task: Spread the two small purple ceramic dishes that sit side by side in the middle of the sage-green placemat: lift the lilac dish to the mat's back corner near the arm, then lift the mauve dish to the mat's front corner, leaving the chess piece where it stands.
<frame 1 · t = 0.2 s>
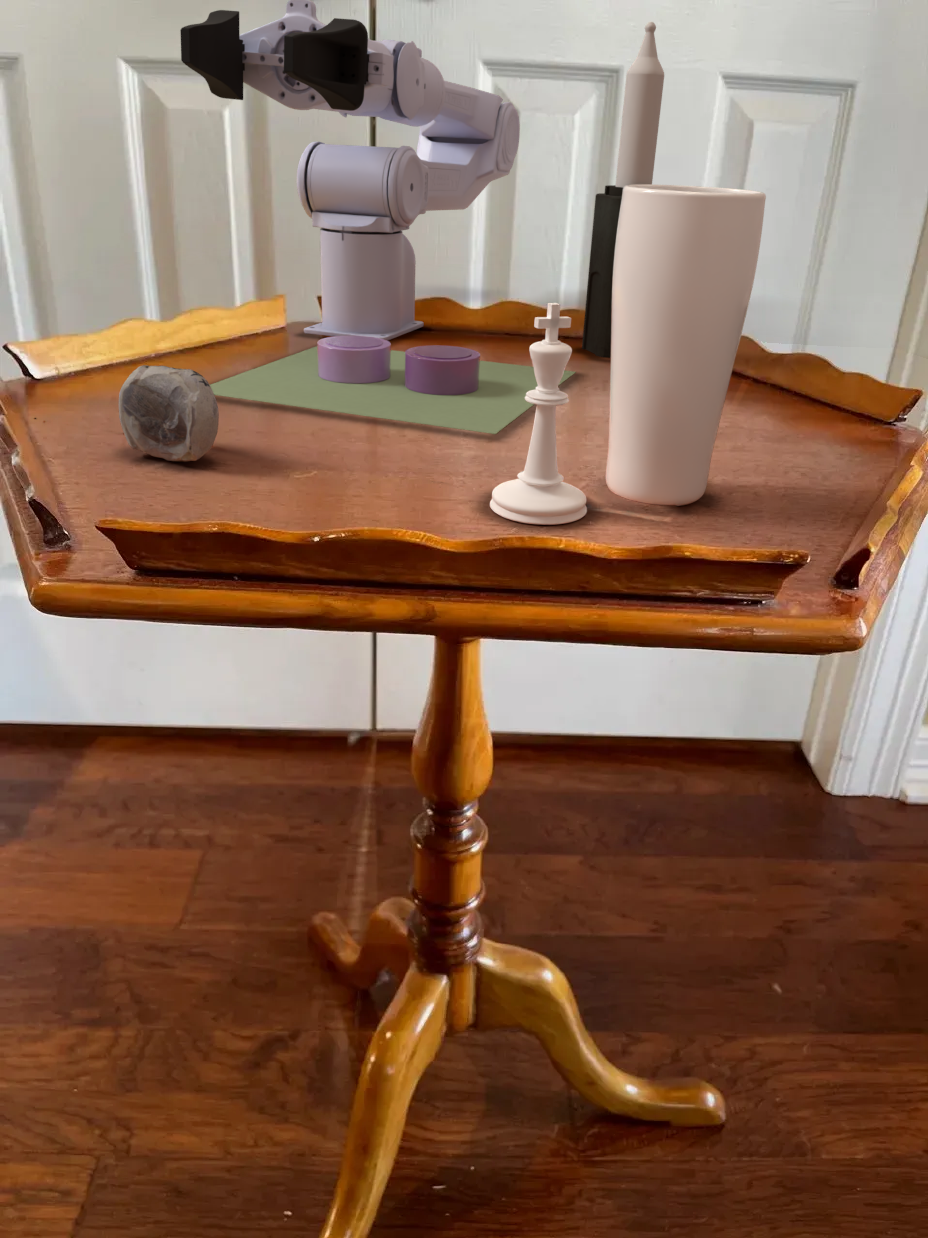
hand: (236, 49, 65), 21 cm above the table, tool horizontal, fingers open, 7 cm apart
chess piece: (537, 511, 50), on the table
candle: (615, 356, 87), on the table
drinking glass: (653, 496, 53), on the table
lilac dish: (354, 375, 74), resting on placemat
fossil: (174, 459, 56), on the table
placemat: (397, 384, 73), on the table
mauve dish: (441, 386, 72), resting on placemat
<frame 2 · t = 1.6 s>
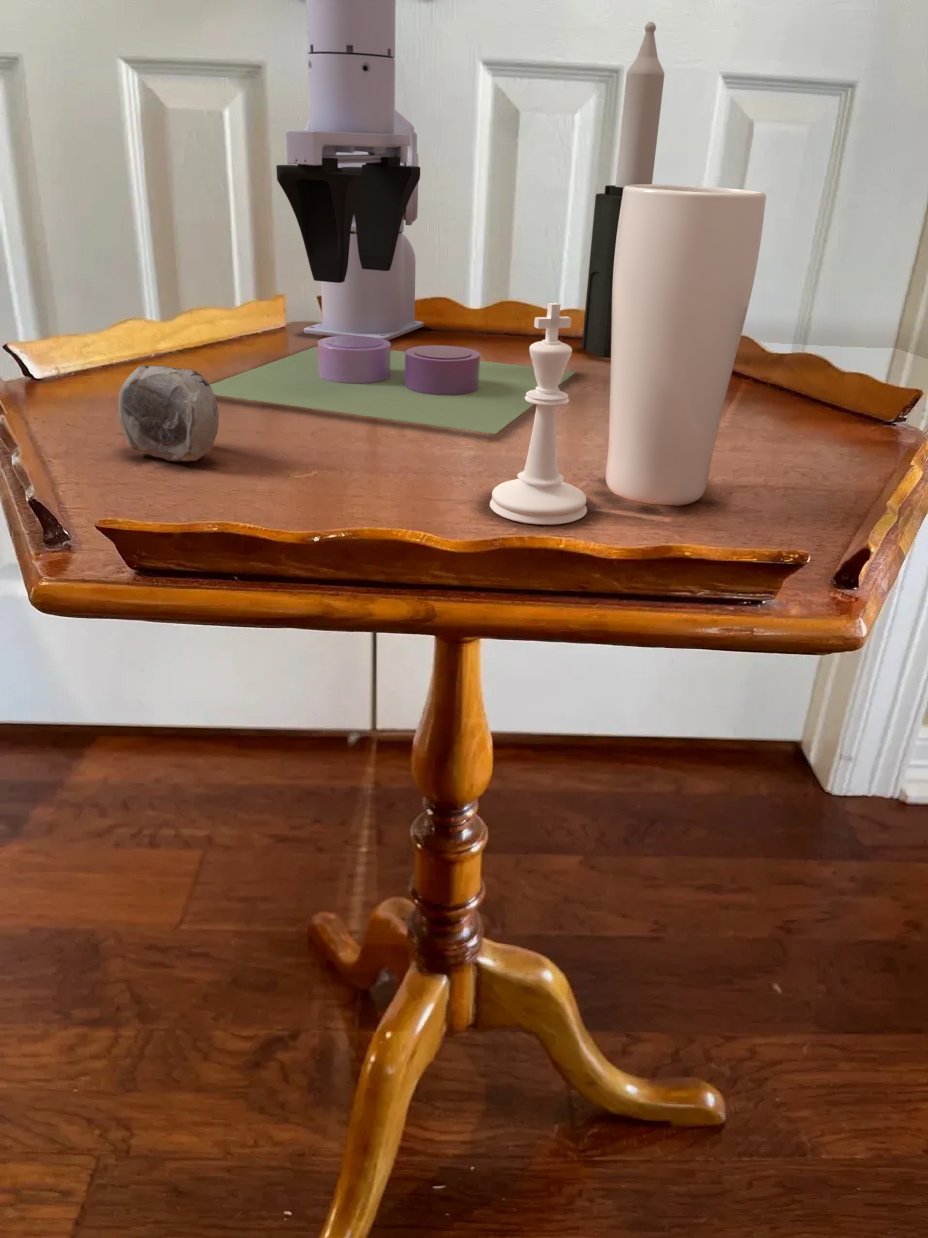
hand: (353, 275, 71), 7 cm above the table, tool pointing down, fingers open, 7 cm apart
nothing on the table moved.
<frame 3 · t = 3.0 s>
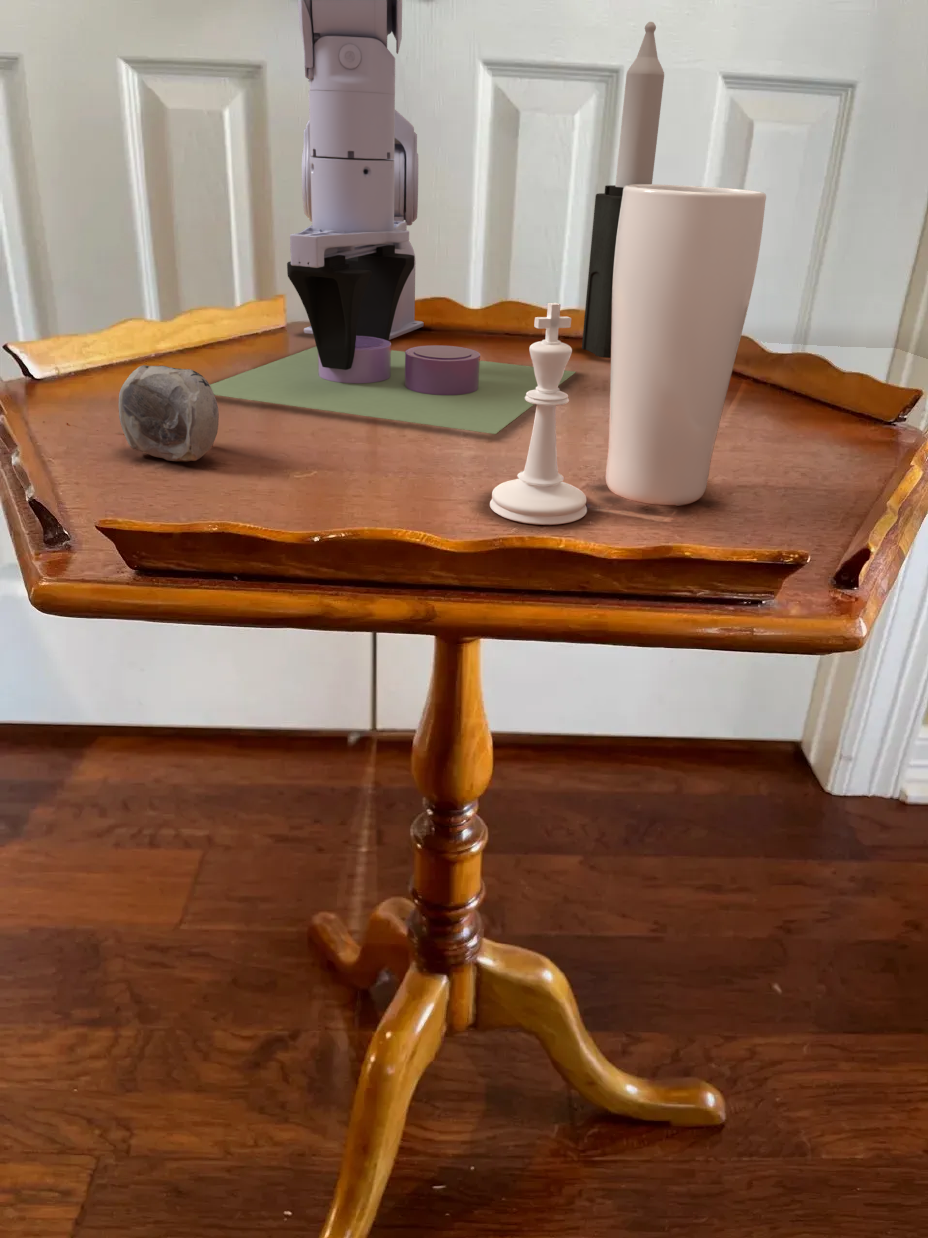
hand: (354, 360, 73), 1 cm above the table, tool pointing down, fingers closed on lilac dish, 5 cm apart
lilac dish: (354, 375, 74), resting on placemat, touching gripper
everything else where it was.
when the fingers open (1 cm above the table, at t = 7.1 s): lilac dish stays where it is, resting on placemat.
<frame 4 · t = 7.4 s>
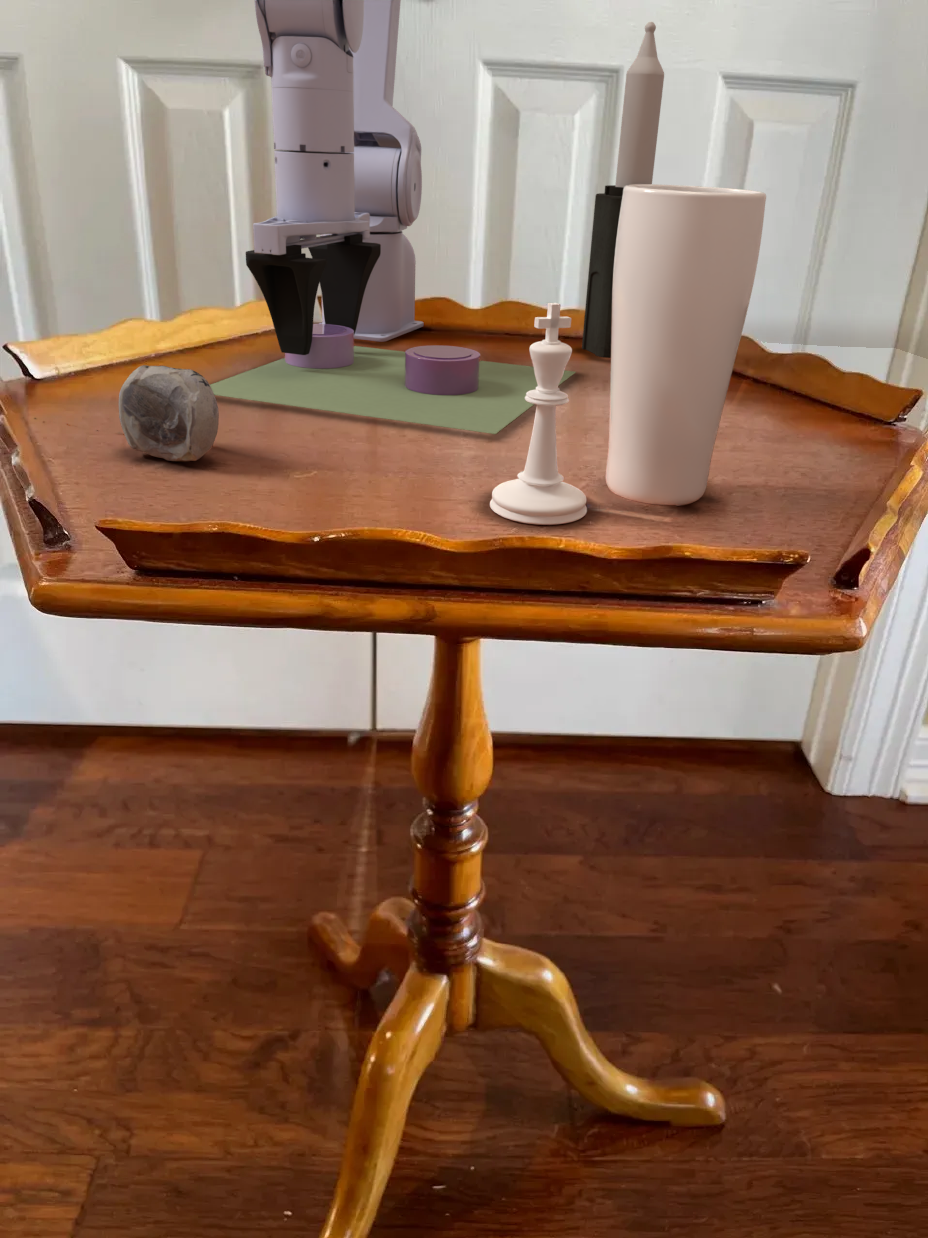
hand: (319, 344, 77), 2 cm above the table, tool pointing down, fingers open, 7 cm apart
lilac dish: (319, 361, 78), resting on placemat
everything else where it was.
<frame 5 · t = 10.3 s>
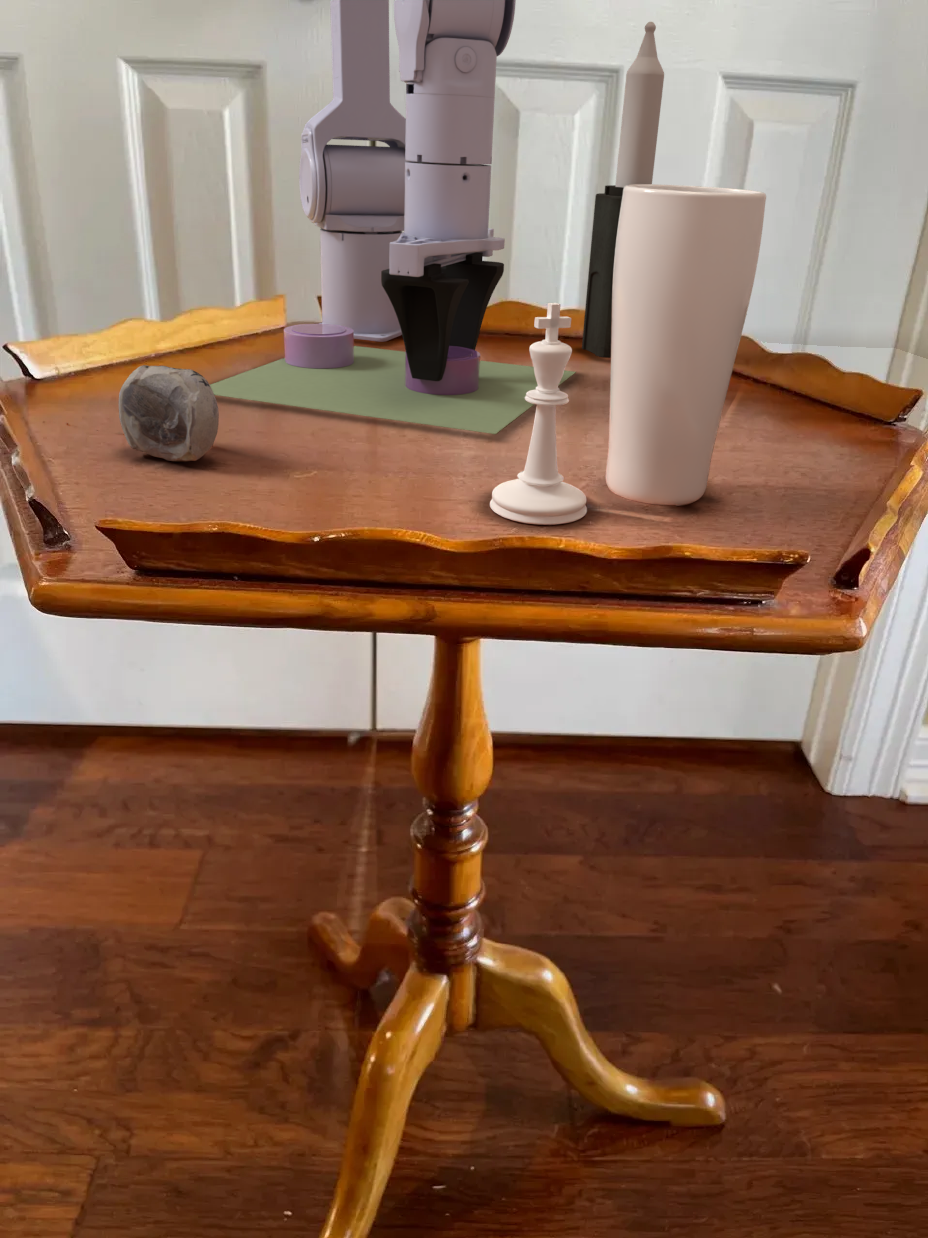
hand: (442, 370, 71), 1 cm above the table, tool pointing down, fingers closed on mauve dish, 5 cm apart
mauve dish: (441, 386, 72), resting on placemat, touching gripper
everything else where it was.
when the fingers open (1 cm above the table, at t = 14.4 s): mauve dish stays where it is, resting on placemat.
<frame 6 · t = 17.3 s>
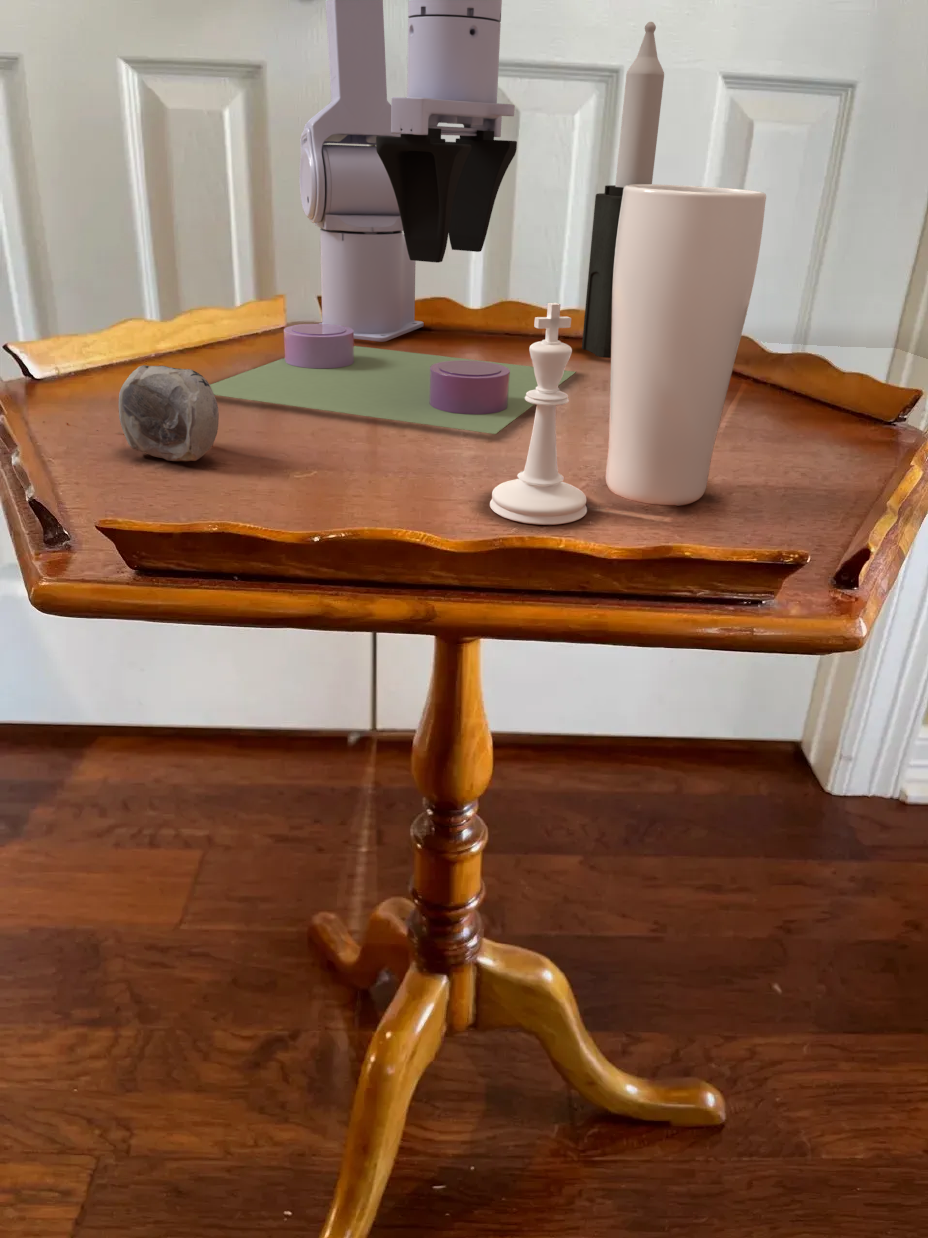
hand: (447, 255, 67), 9 cm above the table, tool pointing down, fingers open, 7 cm apart
mauve dish: (468, 404, 67), resting on placemat
everything else where it was.
at the end: lilac dish 0.0 cm from the target spot, resting on placemat; mauve dish 0.0 cm from the target spot, resting on placemat; chess piece moved 0.2 cm from its start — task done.
